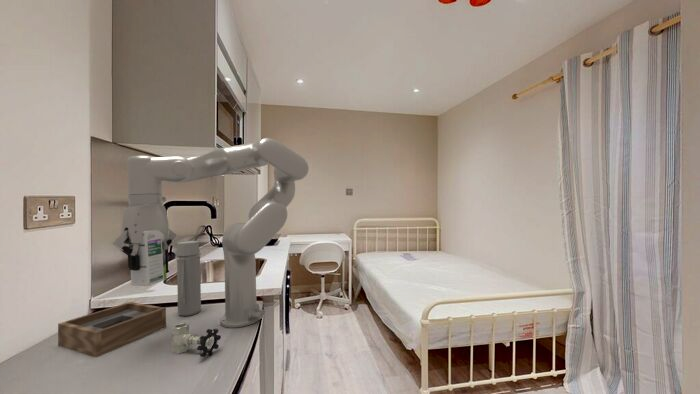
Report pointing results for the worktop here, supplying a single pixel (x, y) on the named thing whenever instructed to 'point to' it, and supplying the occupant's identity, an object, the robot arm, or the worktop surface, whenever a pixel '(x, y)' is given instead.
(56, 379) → the worktop surface
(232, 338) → the worktop surface
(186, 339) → the valve
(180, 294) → the water bottle
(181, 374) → the worktop surface
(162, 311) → the socket box
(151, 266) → the syrup box
